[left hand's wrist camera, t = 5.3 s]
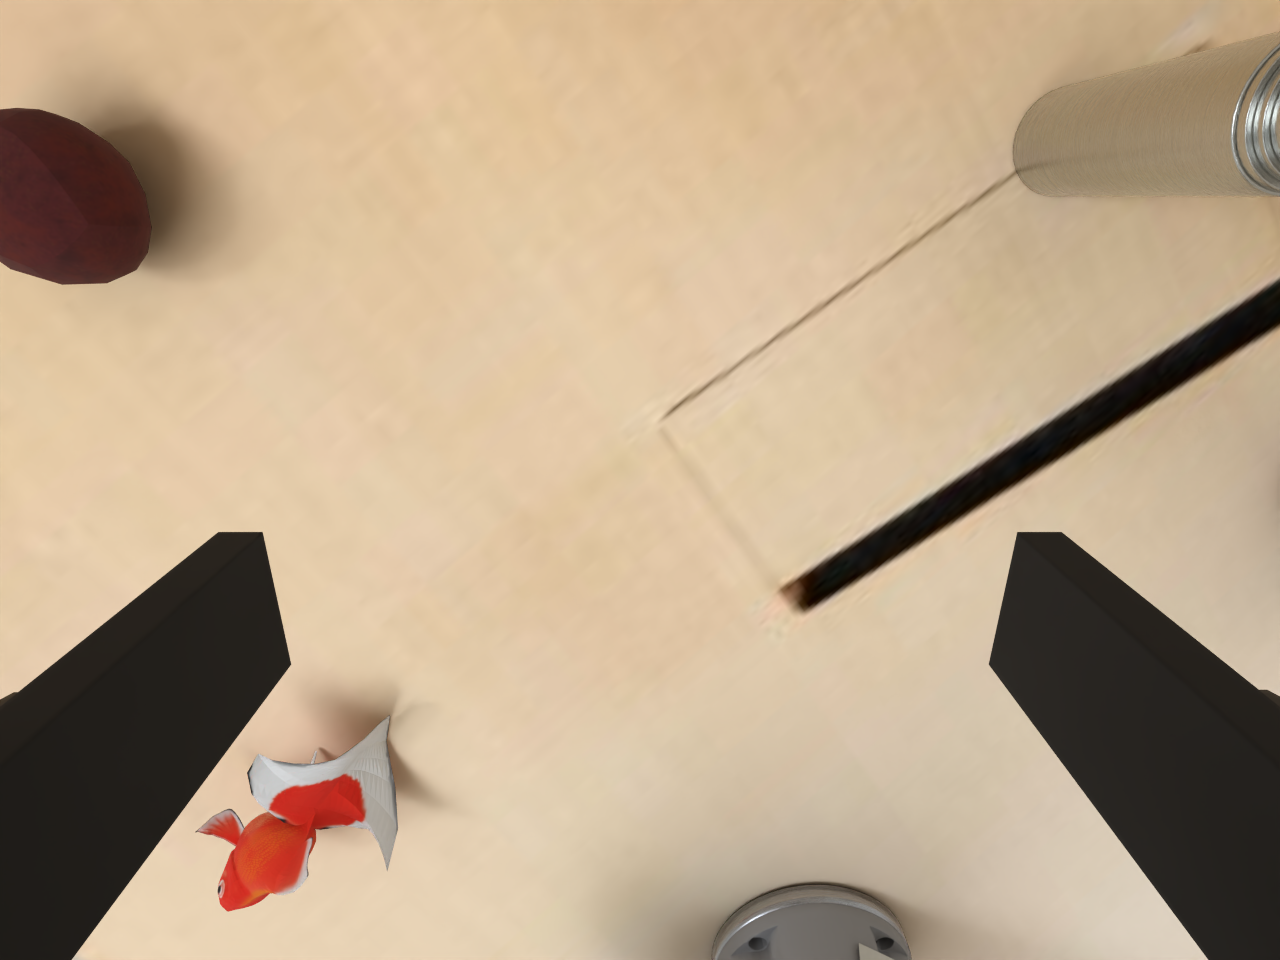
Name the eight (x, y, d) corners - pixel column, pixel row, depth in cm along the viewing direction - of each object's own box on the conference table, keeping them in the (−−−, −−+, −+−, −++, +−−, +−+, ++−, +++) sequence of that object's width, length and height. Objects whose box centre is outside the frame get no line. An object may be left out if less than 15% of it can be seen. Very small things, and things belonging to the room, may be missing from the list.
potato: (96, 84, 34) (-32, 58, 28) (216, 227, 37) (124, 234, 30) (-3, 177, 36) (-147, 173, 29) (118, 308, 38) (10, 332, 32)
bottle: (1117, 75, 34) (1620, -51, 17) (1112, 185, 36) (1561, 176, 18) (1012, 97, 35) (1397, -4, 17) (1012, 205, 36) (1359, 214, 19)
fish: (123, 802, 45) (119, 942, 37) (336, 639, 48) (372, 736, 41) (246, 864, 52) (263, 993, 44) (425, 716, 55) (470, 813, 47)
